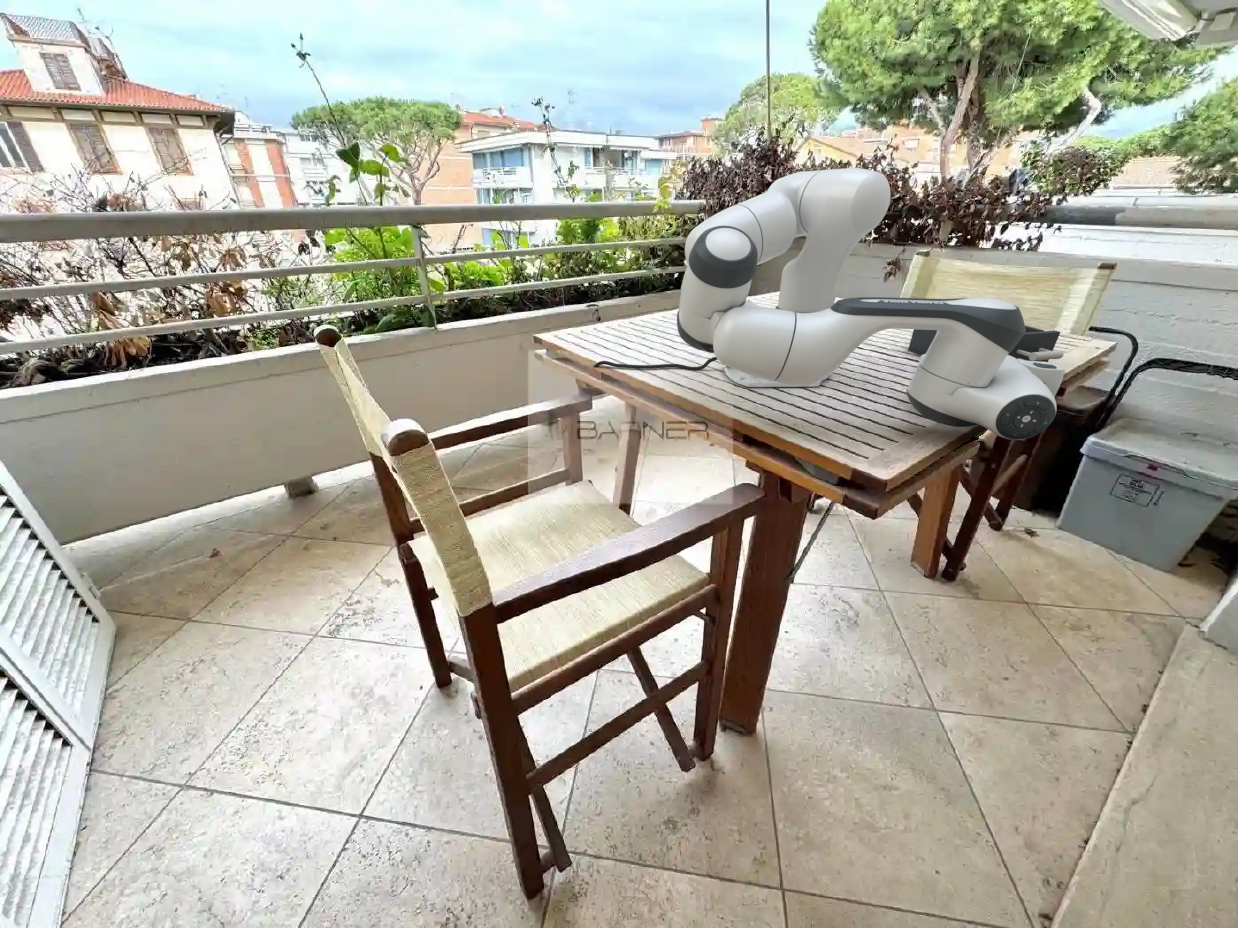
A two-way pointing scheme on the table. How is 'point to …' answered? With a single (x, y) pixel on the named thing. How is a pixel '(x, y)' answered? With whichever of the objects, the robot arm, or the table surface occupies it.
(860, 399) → the table surface
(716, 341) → the robot arm
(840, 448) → the table surface
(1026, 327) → the drawer
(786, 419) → the table surface
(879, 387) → the table surface
